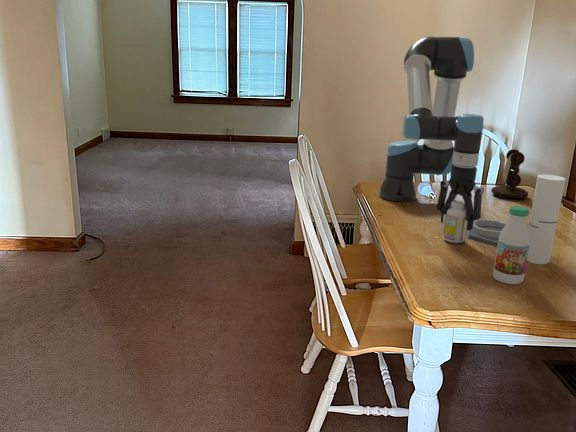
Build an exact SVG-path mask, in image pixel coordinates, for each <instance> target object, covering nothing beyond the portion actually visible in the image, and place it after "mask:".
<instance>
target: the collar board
mask: <svg viewBox="0 0 576 432" xmlns="http://www.w3.org/2000/svg"><path fill="white" fill-rule="evenodd" d="M506 224H507V222H505V221H500V220H496V219H489V218H488V219H487V218H484V219H483V218H480V219H477V220H474V223H473V229H472V230H470V232H469V238H468V239H471V240H475V241H478V242H482V243H486V244H489V245H492V246H495V247H497V245H498V240H499V236H500V233H501V231H502V229H503V228H504V226H505V225H506Z"/></svg>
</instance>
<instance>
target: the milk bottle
mask: <svg viewBox="0 0 576 432" xmlns="http://www.w3.org/2000/svg"><path fill="white" fill-rule="evenodd" d="M529 213H530V209H529V208H528V207H525V206H520V205H512V206H510V207H509V212H508V215H509V218H508V220H507V222H506V223H507V224H506V225H505V226H504V228H503V229H502V231H501V233H500V236H499V240H498V245H497V246H496V252H495V259H494V264H493V271H492V277H493V278H494V280H496V281H498V282H500V283H502V284H507V285H519V284H522V283H523V282H524V280H525V279H524V278H525V274H526V269H527V263H528V261H527V258H528V252H529V245H530V234H529V231H528V227H529V226H528V224H527V223H528V222H527V220H528V218H529V215H530V214H529Z"/></svg>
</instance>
